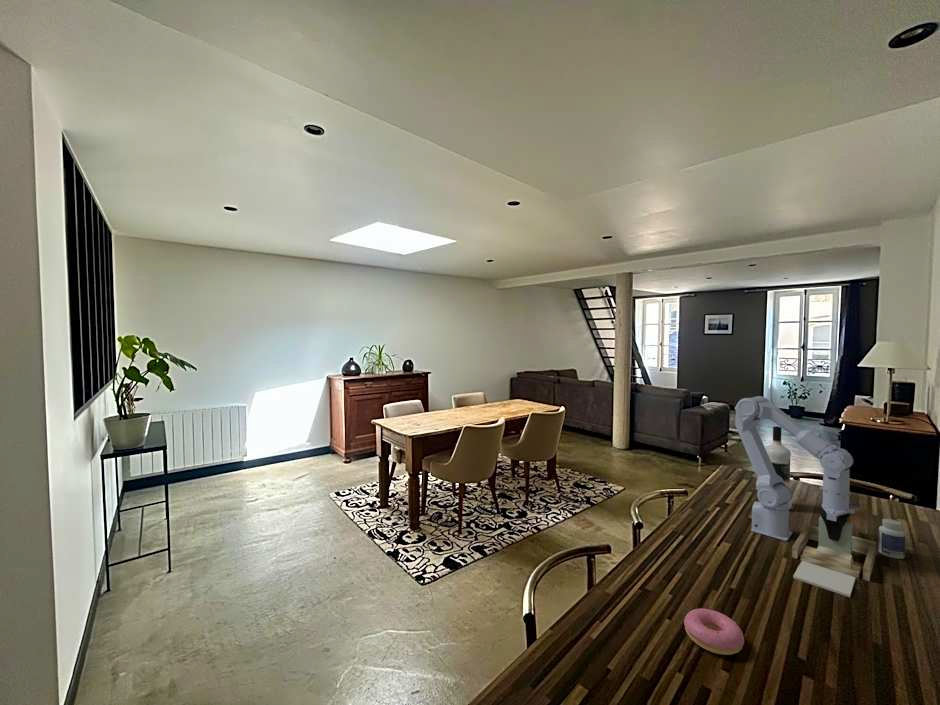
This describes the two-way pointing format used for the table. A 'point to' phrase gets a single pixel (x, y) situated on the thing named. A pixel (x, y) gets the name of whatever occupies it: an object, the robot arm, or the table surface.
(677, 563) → the table surface
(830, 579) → the grey pad
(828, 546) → the green panel
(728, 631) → the doughnut
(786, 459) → the vodka
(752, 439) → the robot arm
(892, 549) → the pill bottle
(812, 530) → the rack
